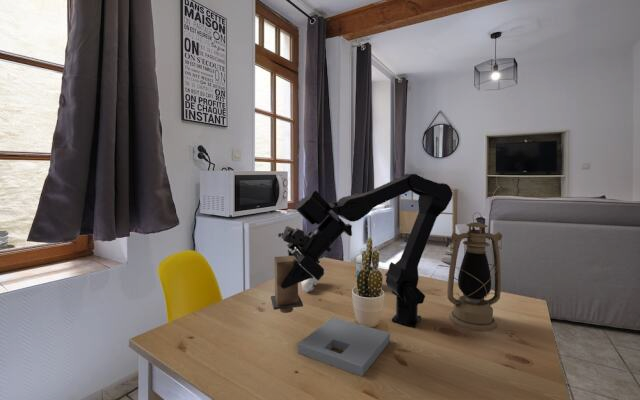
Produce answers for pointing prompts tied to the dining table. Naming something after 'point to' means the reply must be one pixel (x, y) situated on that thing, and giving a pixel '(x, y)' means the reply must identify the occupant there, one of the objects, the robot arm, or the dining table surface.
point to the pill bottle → (359, 262)
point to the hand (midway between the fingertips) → (280, 283)
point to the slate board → (345, 345)
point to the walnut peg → (289, 295)
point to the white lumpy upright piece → (308, 284)
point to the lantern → (475, 280)
